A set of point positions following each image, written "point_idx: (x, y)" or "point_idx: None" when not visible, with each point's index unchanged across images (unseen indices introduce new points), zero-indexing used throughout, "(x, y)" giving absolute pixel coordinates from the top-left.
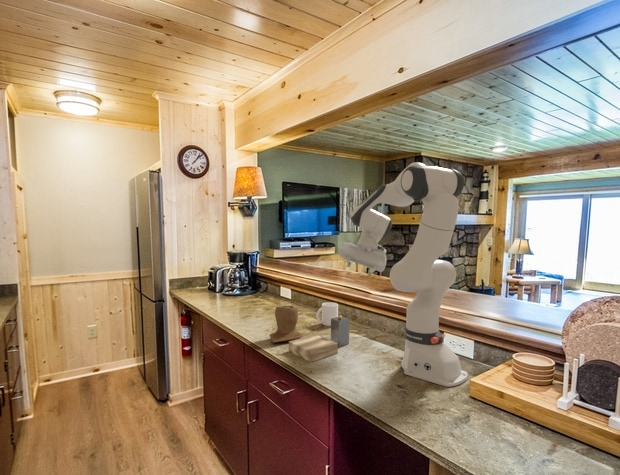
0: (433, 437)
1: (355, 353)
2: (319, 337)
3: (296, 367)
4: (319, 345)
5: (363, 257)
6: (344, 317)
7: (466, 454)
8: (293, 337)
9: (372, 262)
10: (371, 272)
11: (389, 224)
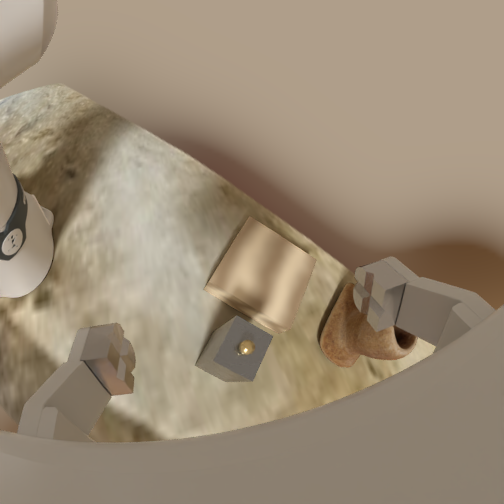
0: (67, 100)
1: (160, 300)
2: (270, 309)
3: (255, 202)
4: (247, 253)
5: (309, 482)
6: (234, 369)
7: (51, 92)
8: (330, 318)
9: (55, 453)
10: (83, 328)
11: None
